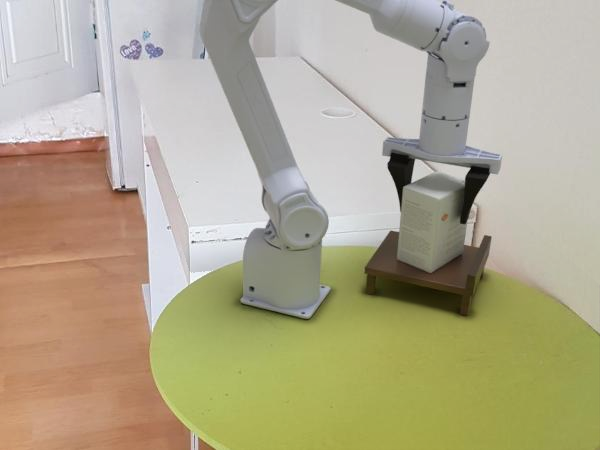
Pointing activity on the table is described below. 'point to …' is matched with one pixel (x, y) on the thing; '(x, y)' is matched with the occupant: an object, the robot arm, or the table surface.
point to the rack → (450, 277)
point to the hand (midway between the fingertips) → (433, 215)
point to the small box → (432, 221)
